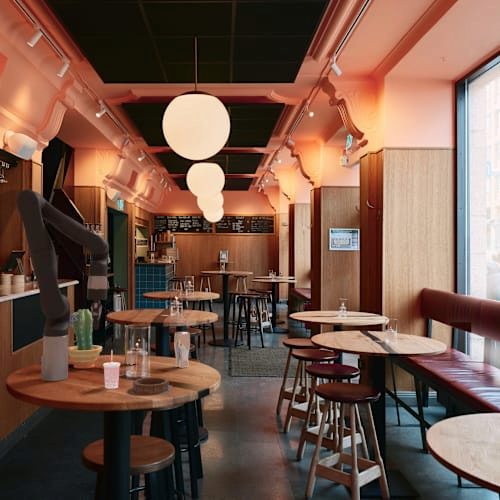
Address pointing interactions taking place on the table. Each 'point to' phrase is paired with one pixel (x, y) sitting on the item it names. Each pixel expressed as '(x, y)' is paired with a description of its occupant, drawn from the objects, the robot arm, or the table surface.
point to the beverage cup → (111, 373)
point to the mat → (157, 393)
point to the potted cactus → (83, 340)
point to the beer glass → (182, 348)
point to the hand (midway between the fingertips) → (95, 328)
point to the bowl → (150, 385)
